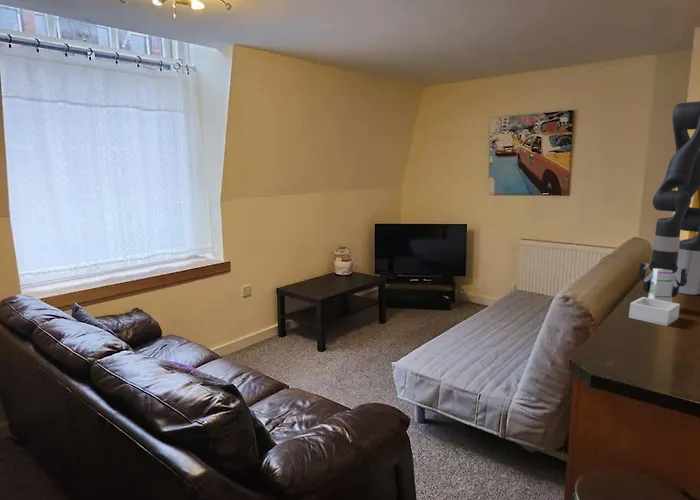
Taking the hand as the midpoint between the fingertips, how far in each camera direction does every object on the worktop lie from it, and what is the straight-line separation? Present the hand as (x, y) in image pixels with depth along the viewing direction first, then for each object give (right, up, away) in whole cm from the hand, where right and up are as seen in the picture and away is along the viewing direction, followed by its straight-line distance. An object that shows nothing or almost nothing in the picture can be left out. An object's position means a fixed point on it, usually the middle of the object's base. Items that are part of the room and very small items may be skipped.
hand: (659, 294), depth 164 cm
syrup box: (0, -5, +1) cm, 5 cm away
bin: (-8, -7, -9) cm, 14 cm away
